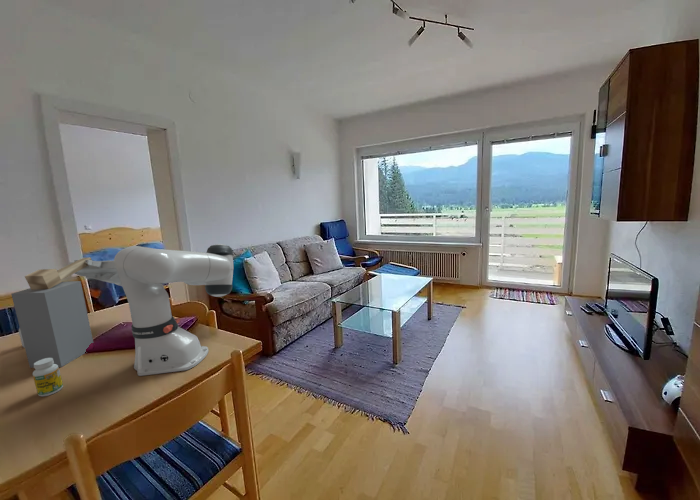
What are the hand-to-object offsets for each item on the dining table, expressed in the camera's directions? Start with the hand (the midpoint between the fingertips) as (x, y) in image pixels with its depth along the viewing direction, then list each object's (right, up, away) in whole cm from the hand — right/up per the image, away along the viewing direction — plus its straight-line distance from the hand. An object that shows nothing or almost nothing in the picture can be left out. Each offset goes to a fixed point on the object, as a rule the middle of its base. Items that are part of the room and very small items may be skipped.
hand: (80, 261), depth 117 cm
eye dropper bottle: (-22, -33, +3) cm, 39 cm away
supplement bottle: (+16, -37, -28) cm, 49 cm away
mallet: (0, -5, -6) cm, 7 cm away
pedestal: (+1, -34, -8) cm, 35 cm away
